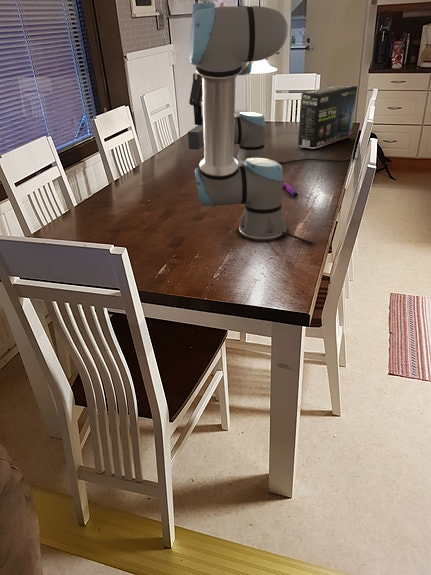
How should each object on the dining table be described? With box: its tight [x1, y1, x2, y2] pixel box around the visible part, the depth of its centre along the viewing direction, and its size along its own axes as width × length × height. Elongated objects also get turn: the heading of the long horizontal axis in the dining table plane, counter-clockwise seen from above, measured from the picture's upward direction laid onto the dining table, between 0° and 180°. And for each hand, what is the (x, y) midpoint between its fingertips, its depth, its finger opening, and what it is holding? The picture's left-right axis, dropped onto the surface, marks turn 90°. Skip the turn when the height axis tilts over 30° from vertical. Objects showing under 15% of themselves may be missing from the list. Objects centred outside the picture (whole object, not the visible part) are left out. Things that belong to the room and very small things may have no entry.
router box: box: [297, 84, 358, 151], centre depth 238 cm, size 36×11×27 cm, turn 134°
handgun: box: [282, 179, 299, 198], centre depth 183 cm, size 21×8×2 cm, turn 11°
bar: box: [187, 122, 204, 150], centre depth 229 cm, size 29×5×8 cm, turn 162°
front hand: (208, 121), depth 166 cm, fingers open, 13 cm apart
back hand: (211, 134), depth 240 cm, fingers closed on bar, 5 cm apart
